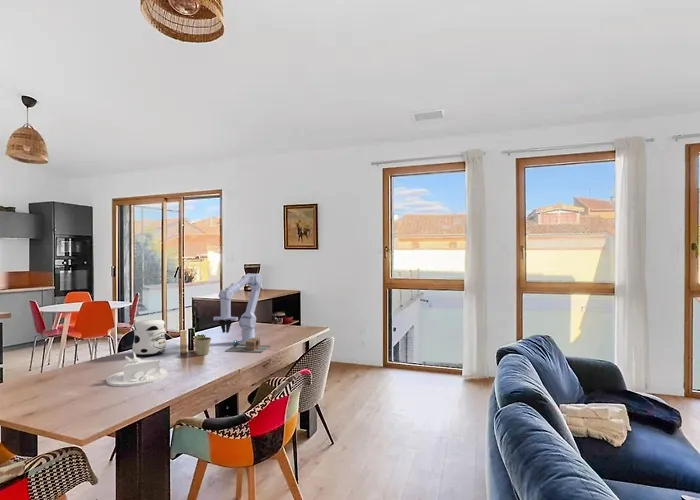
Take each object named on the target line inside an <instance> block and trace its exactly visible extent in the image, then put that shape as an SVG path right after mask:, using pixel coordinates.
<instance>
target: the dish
mask: <svg viewBox="0 0 700 500" xmlns="http://www.w3.org/2000/svg"><path fill="white" fill-rule="evenodd" d="M132 353H133V358H131V357H128V356H127V355H125V357H124V359H125V360H126V361H127V362H125V364H124V365H123V370H122V371H120V372H116V373H114V374H111V375H109V376H108V377H107V378H106V384H107V385H110V386H113V387H121V388H123V387H136V386H137V387H138V386H143V385H148V384H153V383H155V382H159V381H161V380H163V379H165V378H166V377H167V376H168V373H169V372H168V370H167V369H164V368H162V367H160V364H161V361H160V360H158V359H157V360H156V359H155V360H154V359H151V360H150V359H141V357H137V355H136V354H135V353H134V352H133V351H132Z"/></svg>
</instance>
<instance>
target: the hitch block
mask: <svg viewBox="0 0 700 500" xmlns="http://www.w3.org/2000/svg"><path fill="white" fill-rule="evenodd" d="M269 348H271V345H261V338H260V337H255V338H251V339H249V340H247V341H246V346H236V347H234V346H231V347H229V348H227V349H226V350H224V352H226V353H253V354H255V353H256V354H257V353H258V354H261V353H264V351H265V352H266V350H267V349H269Z"/></svg>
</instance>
